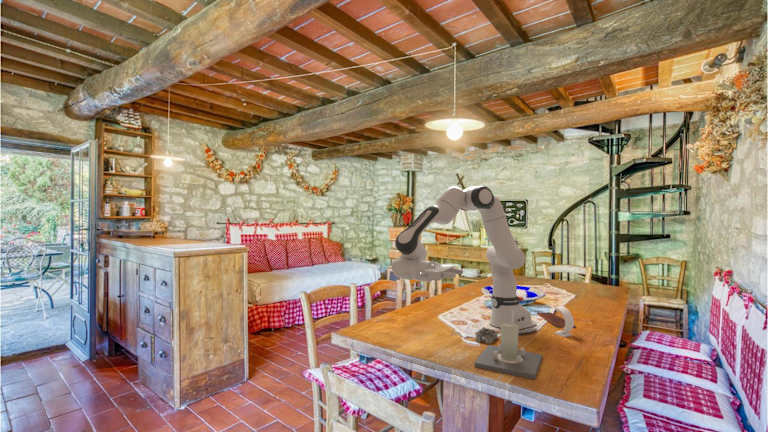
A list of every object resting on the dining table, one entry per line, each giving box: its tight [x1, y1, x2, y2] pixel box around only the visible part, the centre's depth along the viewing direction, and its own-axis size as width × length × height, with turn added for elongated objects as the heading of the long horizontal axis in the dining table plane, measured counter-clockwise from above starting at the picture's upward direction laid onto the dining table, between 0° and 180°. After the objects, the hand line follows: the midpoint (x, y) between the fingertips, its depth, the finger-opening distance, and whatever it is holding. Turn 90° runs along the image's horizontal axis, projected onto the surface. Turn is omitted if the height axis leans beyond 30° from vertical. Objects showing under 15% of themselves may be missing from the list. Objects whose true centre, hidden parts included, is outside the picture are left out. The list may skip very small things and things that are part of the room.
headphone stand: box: [554, 305, 575, 338], centre depth 163 cm, size 5×6×12 cm
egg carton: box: [475, 326, 499, 345], centre depth 158 cm, size 11×8×4 cm
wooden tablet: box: [536, 311, 577, 329], centre depth 186 cm, size 27×10×2 cm, turn 179°
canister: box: [500, 323, 519, 361], centre depth 133 cm, size 6×6×12 cm
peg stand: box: [474, 343, 543, 380], centre depth 133 cm, size 20×20×4 cm
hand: (458, 273), depth 147 cm, fingers open, 8 cm apart
